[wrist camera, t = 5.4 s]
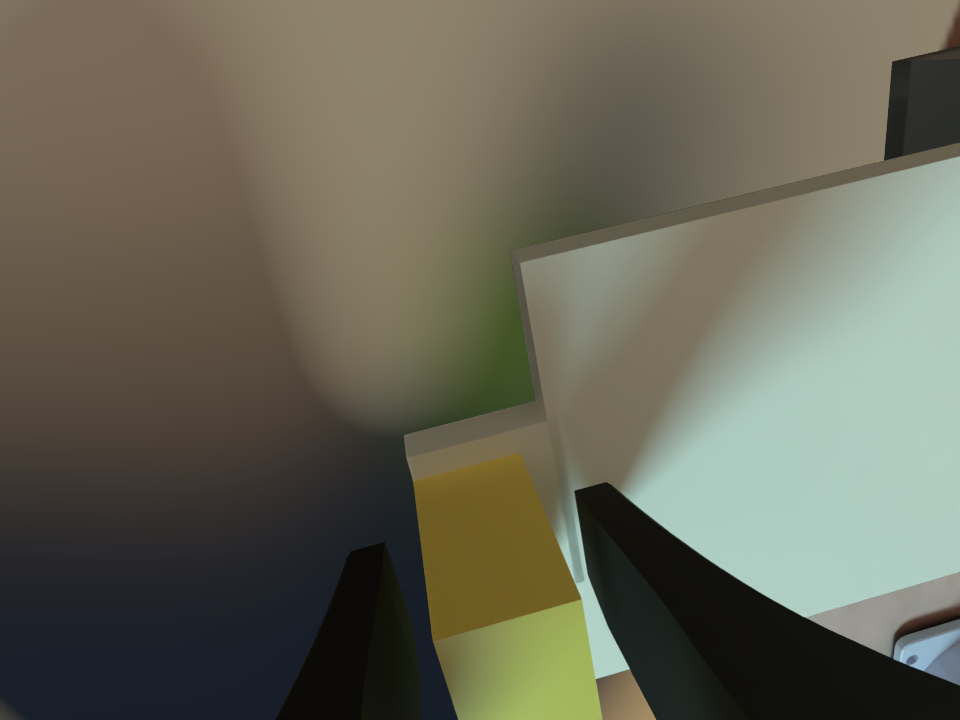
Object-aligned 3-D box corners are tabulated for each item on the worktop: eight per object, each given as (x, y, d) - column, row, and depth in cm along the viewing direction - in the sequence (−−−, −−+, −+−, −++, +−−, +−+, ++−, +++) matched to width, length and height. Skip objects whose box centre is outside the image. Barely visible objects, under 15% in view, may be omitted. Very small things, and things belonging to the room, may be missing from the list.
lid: (1104, 498, 16) (1350, 636, 12) (476, 681, 15) (517, 901, 11) (1229, 77, 12) (1676, 74, 8) (360, 286, 10) (358, 409, 7)
